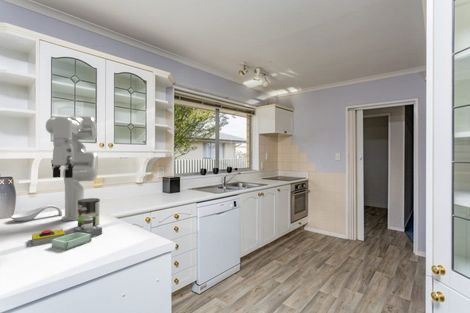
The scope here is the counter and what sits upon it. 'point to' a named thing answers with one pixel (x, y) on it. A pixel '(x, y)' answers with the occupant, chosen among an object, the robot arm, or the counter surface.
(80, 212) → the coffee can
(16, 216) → the spoon rest
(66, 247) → the tray
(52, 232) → the emergency button
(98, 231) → the block
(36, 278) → the counter surface
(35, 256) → the counter surface
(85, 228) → the fuse
